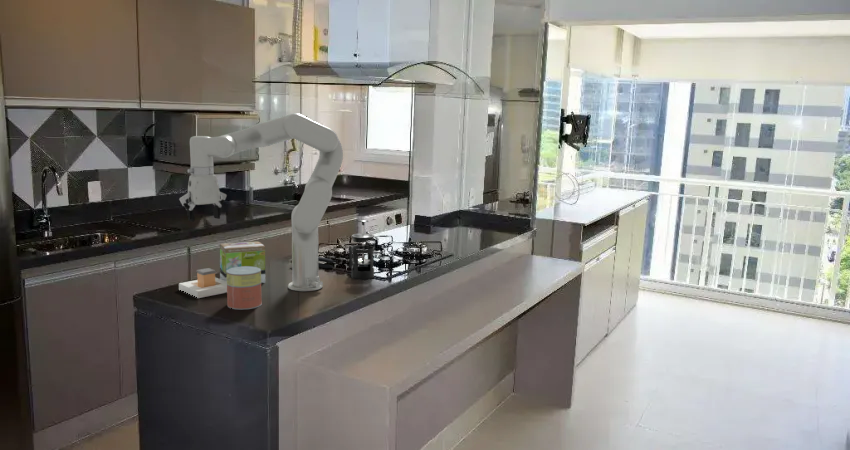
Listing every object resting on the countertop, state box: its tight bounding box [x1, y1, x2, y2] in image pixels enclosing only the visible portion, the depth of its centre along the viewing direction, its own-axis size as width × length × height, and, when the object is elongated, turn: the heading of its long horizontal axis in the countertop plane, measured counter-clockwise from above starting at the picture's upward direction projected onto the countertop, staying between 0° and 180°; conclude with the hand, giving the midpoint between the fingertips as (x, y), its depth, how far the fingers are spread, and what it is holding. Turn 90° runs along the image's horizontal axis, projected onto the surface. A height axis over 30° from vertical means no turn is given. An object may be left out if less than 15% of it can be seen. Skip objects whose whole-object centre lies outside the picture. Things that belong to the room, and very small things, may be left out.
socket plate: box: [178, 276, 227, 299], centre depth 234 cm, size 14×14×3 cm
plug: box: [196, 267, 217, 288], centre depth 234 cm, size 5×5×7 cm
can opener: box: [318, 256, 335, 269], centre depth 272 cm, size 18×7×6 cm, turn 84°
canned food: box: [226, 266, 263, 311], centre depth 218 cm, size 11×11×12 cm
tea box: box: [219, 241, 266, 284], centre depth 246 cm, size 15×10×15 cm
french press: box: [348, 219, 375, 281], centre depth 257 cm, size 12×9×23 cm
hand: (204, 219), depth 230 cm, fingers open, 9 cm apart
